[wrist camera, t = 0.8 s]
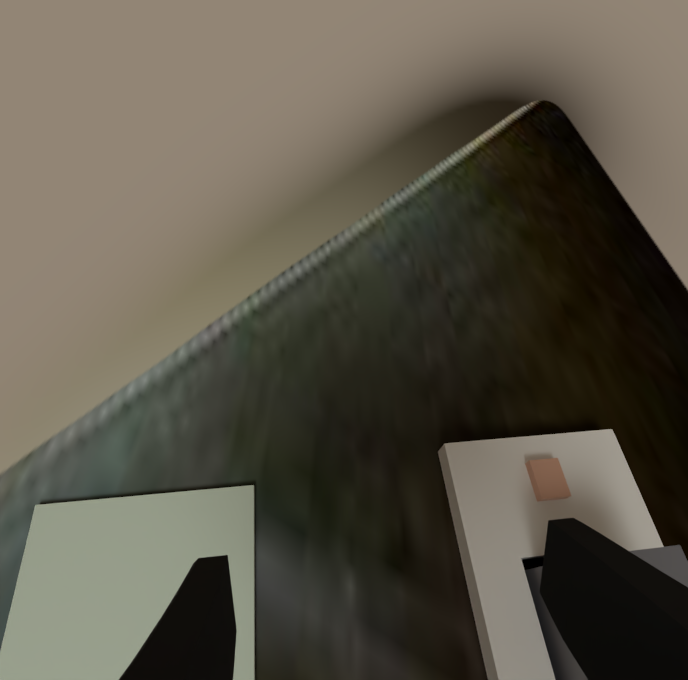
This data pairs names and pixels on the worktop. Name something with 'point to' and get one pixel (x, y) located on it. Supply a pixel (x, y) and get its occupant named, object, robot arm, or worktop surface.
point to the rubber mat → (122, 579)
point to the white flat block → (532, 527)
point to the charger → (561, 659)
